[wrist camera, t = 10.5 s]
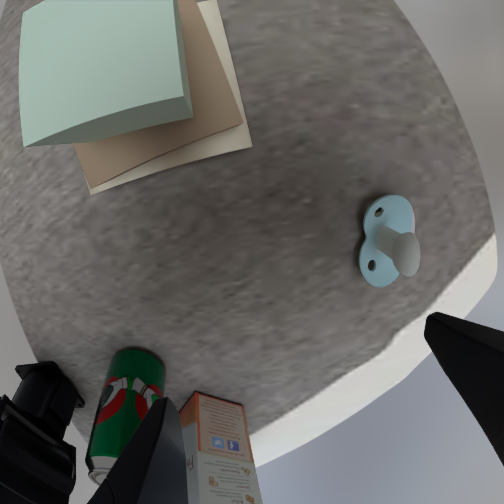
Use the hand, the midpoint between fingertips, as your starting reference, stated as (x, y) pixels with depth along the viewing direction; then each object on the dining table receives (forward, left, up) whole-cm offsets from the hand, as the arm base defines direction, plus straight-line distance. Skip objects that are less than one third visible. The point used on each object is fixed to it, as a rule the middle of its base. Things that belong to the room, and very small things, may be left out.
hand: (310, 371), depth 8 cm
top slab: (-4, +11, -11) cm, 16 cm away
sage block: (-4, +11, -8) cm, 14 cm away
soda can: (-12, -9, -13) cm, 20 cm away
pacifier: (+11, -3, -13) cm, 18 cm away
